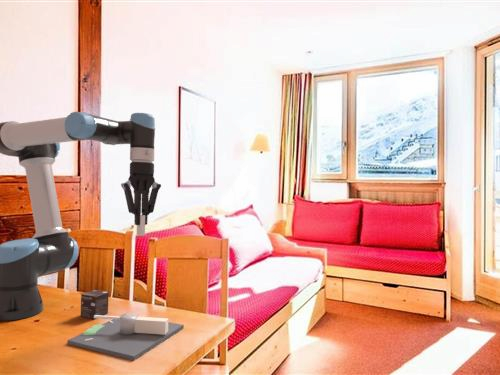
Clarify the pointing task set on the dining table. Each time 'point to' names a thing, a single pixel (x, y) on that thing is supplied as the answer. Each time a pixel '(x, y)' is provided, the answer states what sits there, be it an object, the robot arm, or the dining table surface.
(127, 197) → the robot arm
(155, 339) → the dial board
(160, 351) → the dining table surface
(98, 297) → the box
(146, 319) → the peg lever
